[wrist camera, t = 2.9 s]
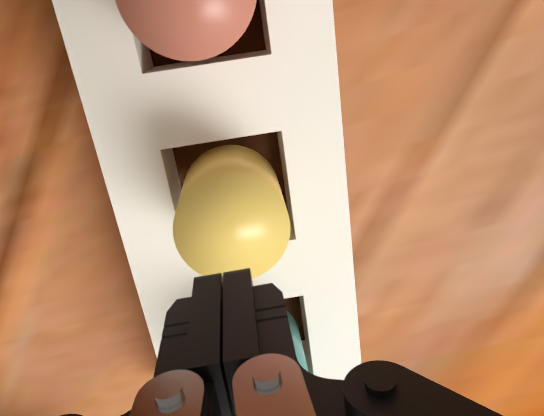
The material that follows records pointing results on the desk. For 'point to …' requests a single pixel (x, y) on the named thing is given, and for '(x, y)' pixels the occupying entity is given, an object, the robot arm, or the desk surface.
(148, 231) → the panel
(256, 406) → the robot arm
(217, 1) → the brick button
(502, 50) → the desk surface
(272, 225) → the ochre button
